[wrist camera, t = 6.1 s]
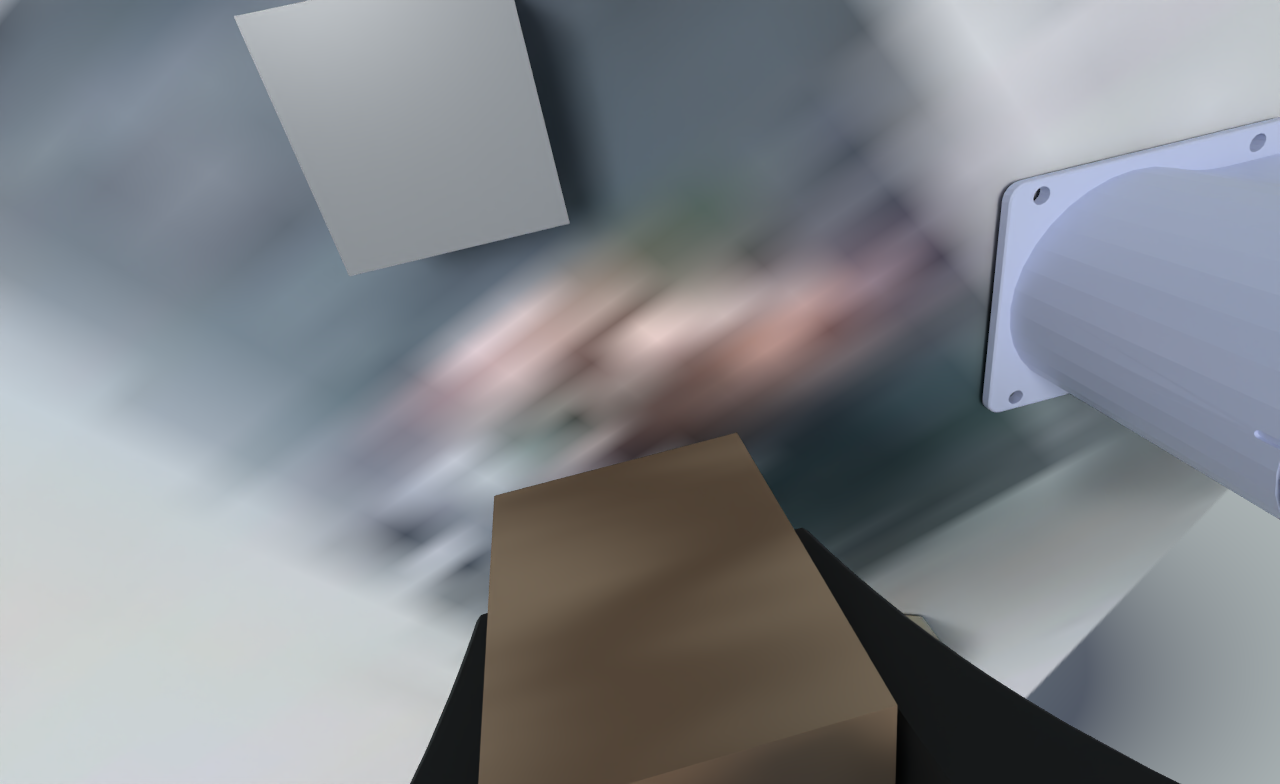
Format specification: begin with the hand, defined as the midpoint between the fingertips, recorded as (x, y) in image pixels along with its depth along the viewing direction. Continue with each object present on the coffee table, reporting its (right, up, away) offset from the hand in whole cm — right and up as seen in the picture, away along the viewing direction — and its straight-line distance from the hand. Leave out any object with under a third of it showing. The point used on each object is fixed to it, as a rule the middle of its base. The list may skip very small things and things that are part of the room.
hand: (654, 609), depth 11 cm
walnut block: (0, +1, +1) cm, 1 cm away
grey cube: (-5, +11, +4) cm, 13 cm away
